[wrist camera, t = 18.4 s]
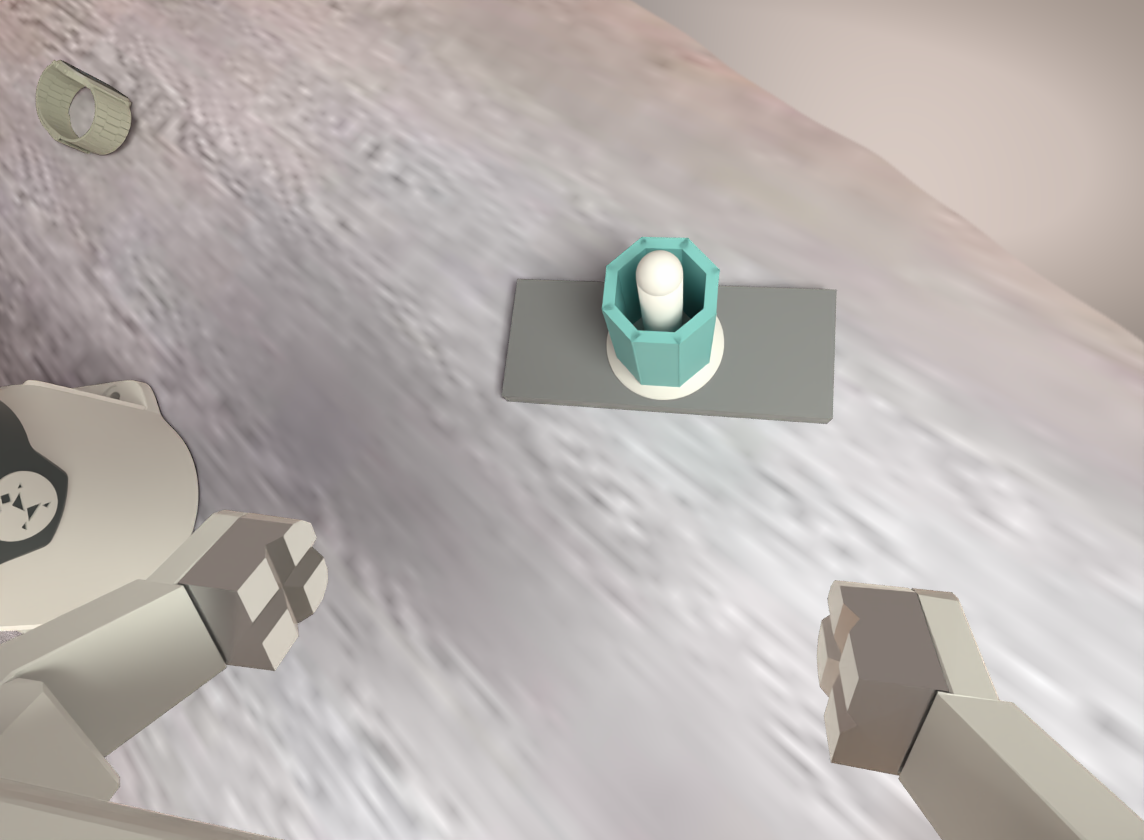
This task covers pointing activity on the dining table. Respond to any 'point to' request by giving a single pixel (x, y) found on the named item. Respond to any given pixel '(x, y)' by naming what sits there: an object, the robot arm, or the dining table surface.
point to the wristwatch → (55, 102)
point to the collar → (656, 351)
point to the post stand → (740, 343)
